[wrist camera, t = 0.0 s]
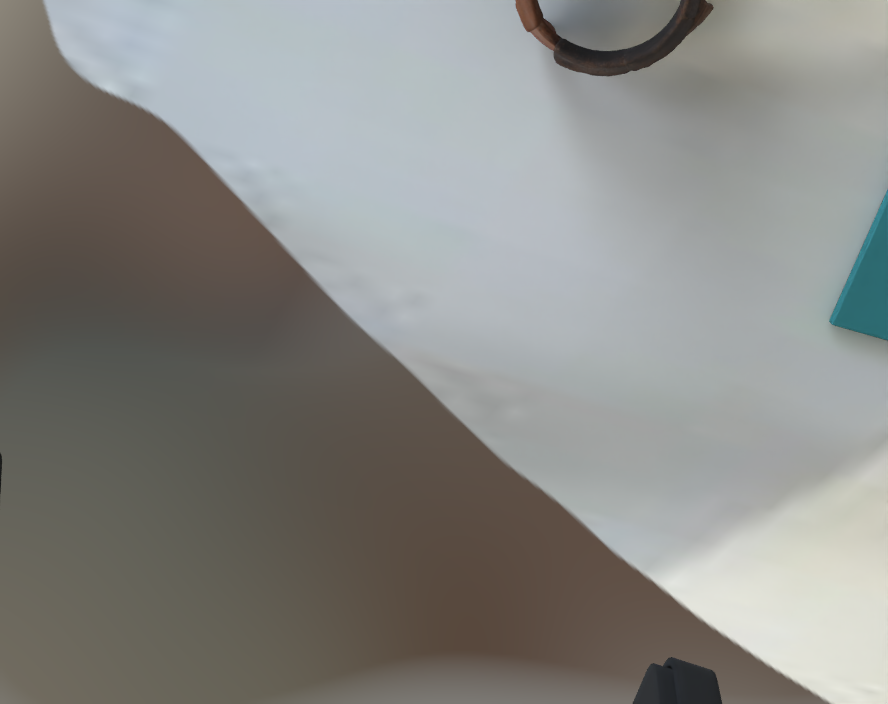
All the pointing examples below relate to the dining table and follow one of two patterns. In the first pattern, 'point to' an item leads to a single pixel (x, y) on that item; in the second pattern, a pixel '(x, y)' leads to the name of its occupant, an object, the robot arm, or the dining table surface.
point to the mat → (868, 284)
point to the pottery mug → (618, 61)
